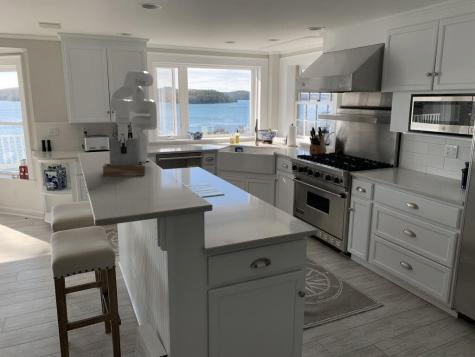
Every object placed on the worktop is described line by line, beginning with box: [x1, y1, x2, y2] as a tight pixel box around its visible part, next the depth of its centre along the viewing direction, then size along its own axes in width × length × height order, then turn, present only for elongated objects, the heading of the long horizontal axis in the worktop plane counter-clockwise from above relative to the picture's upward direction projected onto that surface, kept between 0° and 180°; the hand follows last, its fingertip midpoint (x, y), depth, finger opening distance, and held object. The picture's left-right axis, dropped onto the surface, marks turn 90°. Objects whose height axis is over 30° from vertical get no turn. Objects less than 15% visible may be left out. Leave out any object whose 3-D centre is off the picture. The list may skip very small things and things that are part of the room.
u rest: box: [102, 162, 146, 178], centre depth 219 cm, size 12×23×6 cm, turn 103°
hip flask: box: [108, 137, 139, 166], centre depth 217 cm, size 16×4×20 cm, turn 108°
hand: (124, 152), depth 217 cm, fingers closed on hip flask, 4 cm apart
